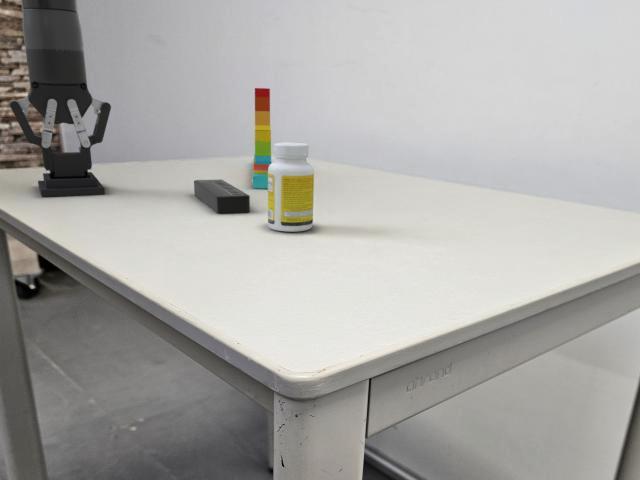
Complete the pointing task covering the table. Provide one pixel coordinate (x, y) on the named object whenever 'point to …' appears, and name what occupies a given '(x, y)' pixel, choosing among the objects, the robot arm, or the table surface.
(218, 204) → the multiport hub
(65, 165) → the small pad
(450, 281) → the table surface
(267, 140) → the chart
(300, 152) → the supplement bottle
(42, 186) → the base pad
